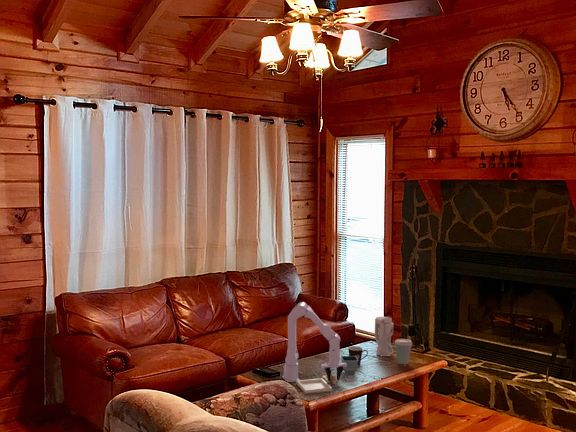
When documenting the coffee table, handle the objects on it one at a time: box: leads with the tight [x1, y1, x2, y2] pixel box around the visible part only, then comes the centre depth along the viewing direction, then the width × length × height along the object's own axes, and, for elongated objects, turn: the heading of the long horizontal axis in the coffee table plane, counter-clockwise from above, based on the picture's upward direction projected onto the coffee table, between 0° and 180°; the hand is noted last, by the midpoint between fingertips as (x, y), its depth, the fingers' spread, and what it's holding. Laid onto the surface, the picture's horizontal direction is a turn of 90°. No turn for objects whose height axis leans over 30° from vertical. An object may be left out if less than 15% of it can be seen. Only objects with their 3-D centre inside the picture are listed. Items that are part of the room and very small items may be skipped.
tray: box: [296, 377, 333, 395], centre depth 334 cm, size 15×15×2 cm
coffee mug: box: [347, 345, 369, 366], centre depth 374 cm, size 12×9×10 cm
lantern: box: [374, 316, 395, 357], centre depth 393 cm, size 13×10×25 cm
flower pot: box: [340, 355, 359, 375], centre depth 358 cm, size 9×9×9 cm
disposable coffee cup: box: [394, 338, 413, 365], centre depth 377 cm, size 11×11×15 cm
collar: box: [321, 373, 339, 385], centre depth 345 cm, size 10×7×4 cm
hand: (333, 380), depth 341 cm, fingers open, 5 cm apart
